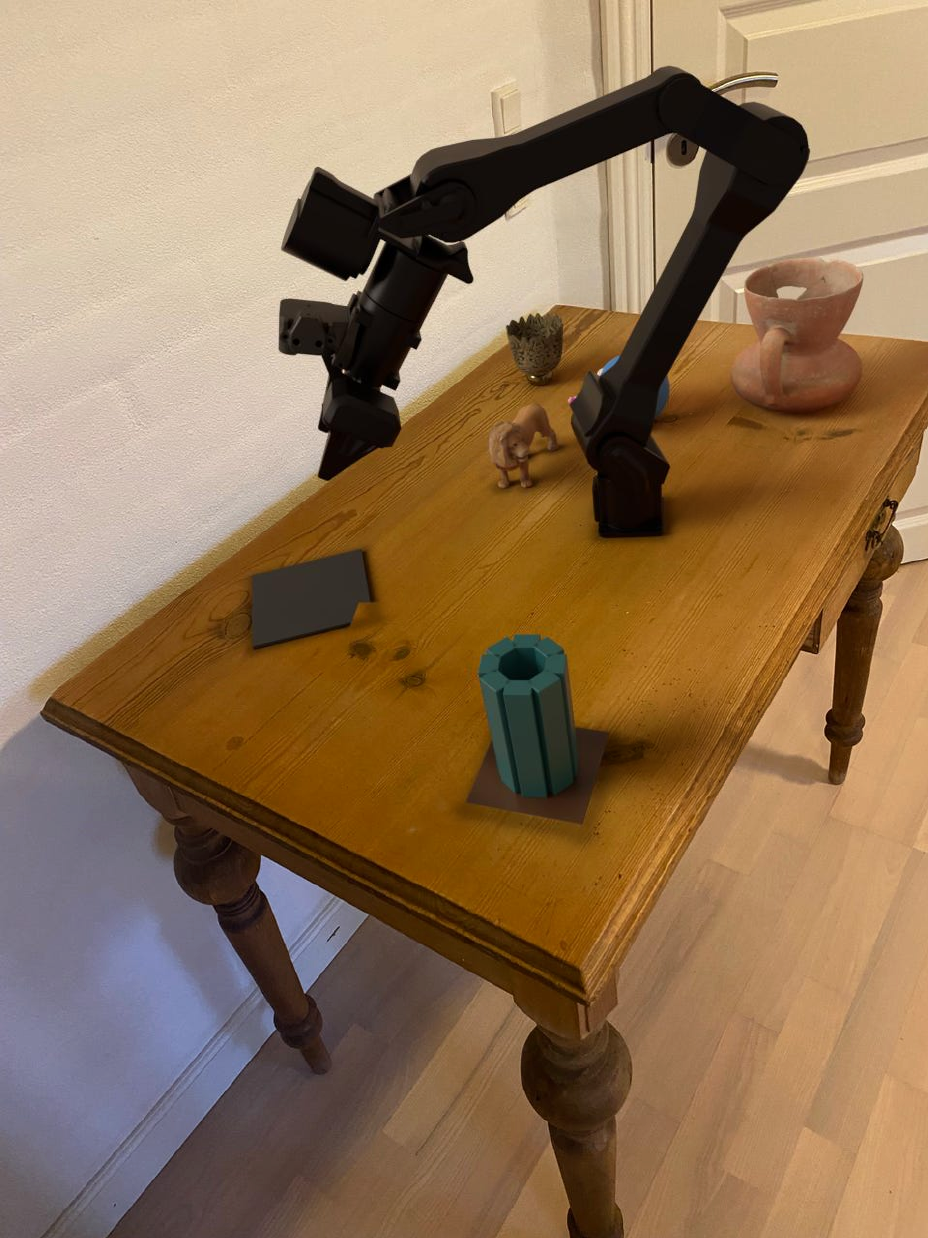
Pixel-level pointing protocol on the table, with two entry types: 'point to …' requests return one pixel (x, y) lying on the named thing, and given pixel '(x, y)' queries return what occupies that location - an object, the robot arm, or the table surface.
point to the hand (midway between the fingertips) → (322, 453)
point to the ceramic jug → (799, 336)
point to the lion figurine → (519, 442)
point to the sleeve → (530, 714)
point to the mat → (307, 598)
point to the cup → (536, 346)
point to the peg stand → (559, 807)
